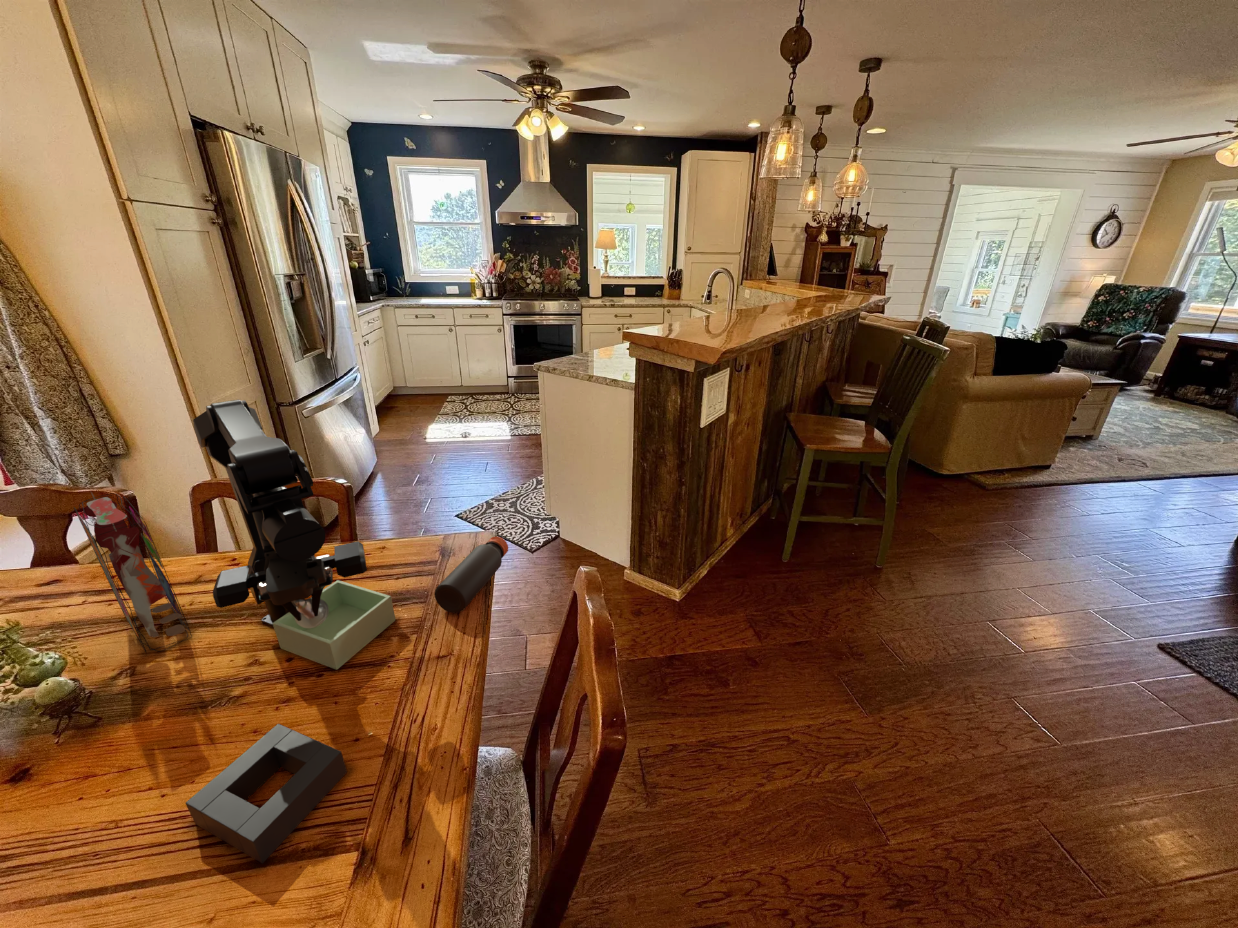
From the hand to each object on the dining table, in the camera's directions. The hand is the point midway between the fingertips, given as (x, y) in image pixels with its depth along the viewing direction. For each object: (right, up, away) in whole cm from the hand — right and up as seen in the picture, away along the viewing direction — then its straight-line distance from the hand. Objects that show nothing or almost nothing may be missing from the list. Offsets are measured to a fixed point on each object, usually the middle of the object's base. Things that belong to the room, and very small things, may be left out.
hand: (308, 616), depth 77 cm
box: (-40, -6, +16) cm, 43 cm away
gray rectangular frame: (+5, -19, -14) cm, 24 cm away
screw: (-3, -2, +6) cm, 7 cm away
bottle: (+16, -2, +17) cm, 23 cm away
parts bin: (-2, -7, +13) cm, 15 cm away
